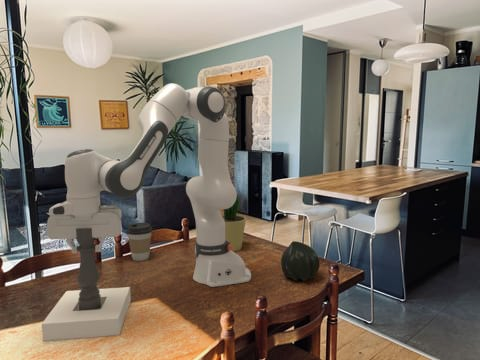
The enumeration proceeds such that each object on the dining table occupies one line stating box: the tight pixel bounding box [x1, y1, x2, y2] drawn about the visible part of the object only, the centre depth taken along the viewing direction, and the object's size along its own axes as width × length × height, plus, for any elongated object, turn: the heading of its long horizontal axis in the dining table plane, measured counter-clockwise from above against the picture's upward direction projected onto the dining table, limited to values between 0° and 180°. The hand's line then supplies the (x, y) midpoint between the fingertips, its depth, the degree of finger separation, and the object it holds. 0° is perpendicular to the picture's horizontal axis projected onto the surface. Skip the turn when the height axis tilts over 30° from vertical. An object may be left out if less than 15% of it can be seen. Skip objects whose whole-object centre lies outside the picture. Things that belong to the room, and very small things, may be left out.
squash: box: [280, 240, 320, 282], centre depth 138 cm, size 14×15×15 cm
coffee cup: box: [125, 222, 154, 262], centre depth 159 cm, size 11×11×15 cm
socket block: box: [41, 286, 131, 342], centre depth 108 cm, size 20×20×5 cm
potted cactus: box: [221, 189, 247, 252], centre depth 171 cm, size 15×15×30 cm
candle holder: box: [75, 228, 101, 311], centre depth 106 cm, size 6×6×25 cm
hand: (87, 251), depth 106 cm, fingers closed on candle holder, 5 cm apart
